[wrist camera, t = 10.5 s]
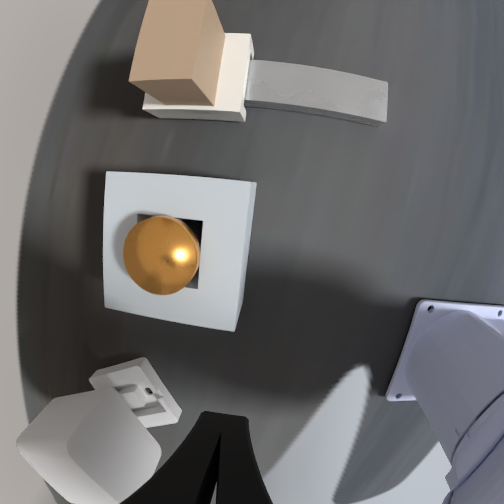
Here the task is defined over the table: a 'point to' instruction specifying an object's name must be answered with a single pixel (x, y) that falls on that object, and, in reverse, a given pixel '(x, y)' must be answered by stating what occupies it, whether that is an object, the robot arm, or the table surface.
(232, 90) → the carriage
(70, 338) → the table surface
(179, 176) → the grey square-hole block
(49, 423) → the security camera
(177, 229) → the gold round knob
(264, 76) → the rail
